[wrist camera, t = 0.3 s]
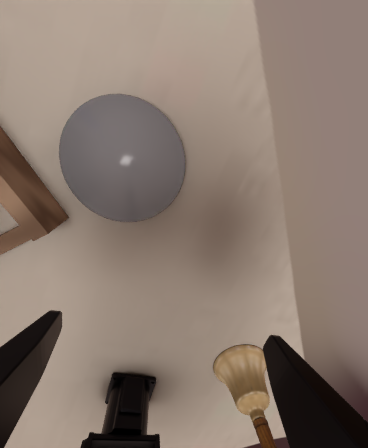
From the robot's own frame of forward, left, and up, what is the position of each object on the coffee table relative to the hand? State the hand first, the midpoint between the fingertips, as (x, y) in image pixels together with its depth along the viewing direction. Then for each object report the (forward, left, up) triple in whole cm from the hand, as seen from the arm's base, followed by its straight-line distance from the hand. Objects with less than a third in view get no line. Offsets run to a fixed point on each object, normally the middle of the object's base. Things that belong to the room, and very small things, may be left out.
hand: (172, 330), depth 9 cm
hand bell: (-20, -17, -15) cm, 30 cm away
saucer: (+4, +5, -14) cm, 16 cm away
